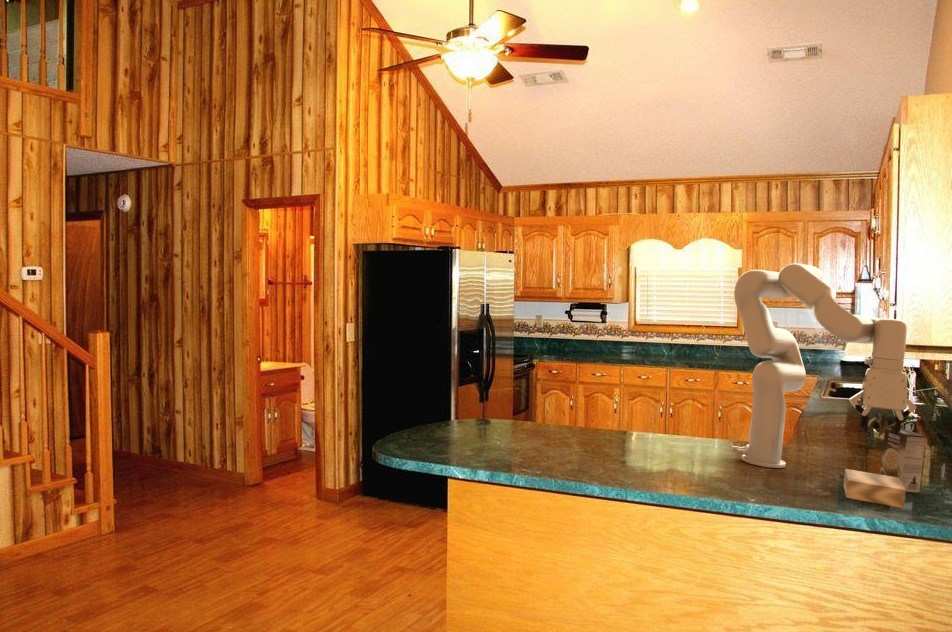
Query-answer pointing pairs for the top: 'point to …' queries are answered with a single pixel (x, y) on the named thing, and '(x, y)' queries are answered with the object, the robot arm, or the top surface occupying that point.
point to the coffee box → (903, 457)
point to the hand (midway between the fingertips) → (879, 431)
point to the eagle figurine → (878, 424)
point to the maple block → (874, 488)
